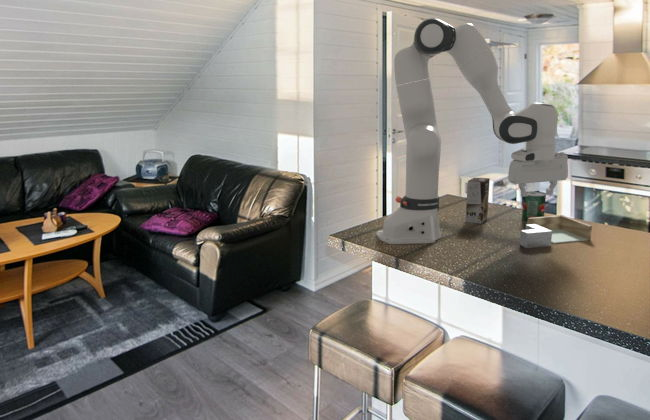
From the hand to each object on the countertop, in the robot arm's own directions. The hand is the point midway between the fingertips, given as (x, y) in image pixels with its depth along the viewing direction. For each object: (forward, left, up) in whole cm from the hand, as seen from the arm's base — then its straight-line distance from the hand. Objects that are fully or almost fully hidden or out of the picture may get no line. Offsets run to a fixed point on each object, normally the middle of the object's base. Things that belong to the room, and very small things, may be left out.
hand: (536, 195), depth 171 cm
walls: (+11, +2, -16) cm, 19 cm away
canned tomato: (+14, +20, -16) cm, 29 cm away
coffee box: (-5, +28, -16) cm, 33 cm away
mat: (+11, +2, -16) cm, 19 cm away
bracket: (-3, -3, -15) cm, 16 cm away
